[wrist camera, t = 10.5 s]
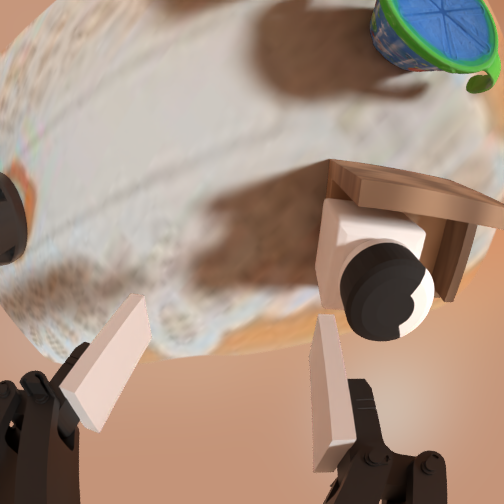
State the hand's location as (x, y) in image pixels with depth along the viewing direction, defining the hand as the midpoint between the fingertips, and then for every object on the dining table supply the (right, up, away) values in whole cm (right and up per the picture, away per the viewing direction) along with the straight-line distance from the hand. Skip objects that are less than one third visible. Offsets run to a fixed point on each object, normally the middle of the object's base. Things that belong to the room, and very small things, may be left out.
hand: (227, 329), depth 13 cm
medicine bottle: (+11, +5, +13) cm, 18 cm away
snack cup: (+16, +25, +6) cm, 30 cm away
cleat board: (+15, +6, +14) cm, 22 cm away
